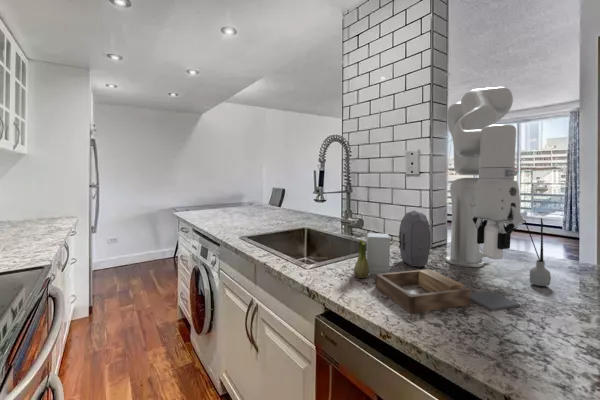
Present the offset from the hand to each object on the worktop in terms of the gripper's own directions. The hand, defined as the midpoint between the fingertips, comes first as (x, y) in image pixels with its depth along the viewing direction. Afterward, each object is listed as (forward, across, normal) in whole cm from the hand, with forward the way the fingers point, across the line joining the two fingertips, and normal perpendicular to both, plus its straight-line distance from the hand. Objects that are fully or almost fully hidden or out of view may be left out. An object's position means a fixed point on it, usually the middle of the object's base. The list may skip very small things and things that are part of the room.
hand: (492, 245), depth 77 cm
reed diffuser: (+15, +6, -23) cm, 28 cm away
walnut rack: (+15, +8, +15) cm, 23 cm away
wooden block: (+15, +8, +9) cm, 19 cm away
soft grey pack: (+15, +34, 0) cm, 37 cm away
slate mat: (+15, 0, 0) cm, 15 cm away
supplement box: (+15, +30, +16) cm, 37 cm away
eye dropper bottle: (+3, 0, 0) cm, 3 cm away
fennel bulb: (+15, +26, +24) cm, 39 cm away
